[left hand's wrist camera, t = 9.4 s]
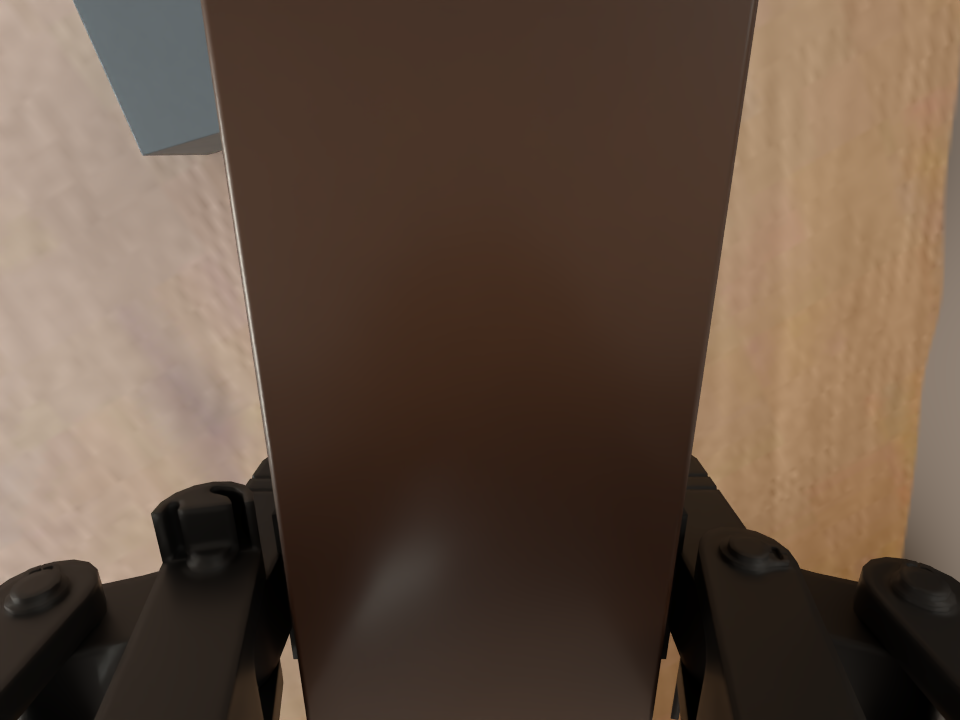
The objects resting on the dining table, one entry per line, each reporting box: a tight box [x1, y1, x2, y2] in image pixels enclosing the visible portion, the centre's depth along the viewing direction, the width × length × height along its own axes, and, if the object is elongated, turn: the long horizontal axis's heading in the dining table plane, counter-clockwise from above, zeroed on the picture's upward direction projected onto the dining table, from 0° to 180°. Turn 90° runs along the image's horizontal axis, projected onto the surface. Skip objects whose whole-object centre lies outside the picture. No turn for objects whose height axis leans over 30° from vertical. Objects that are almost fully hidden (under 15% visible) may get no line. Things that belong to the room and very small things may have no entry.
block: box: [73, 0, 222, 156], centre depth 21 cm, size 5×5×5 cm
